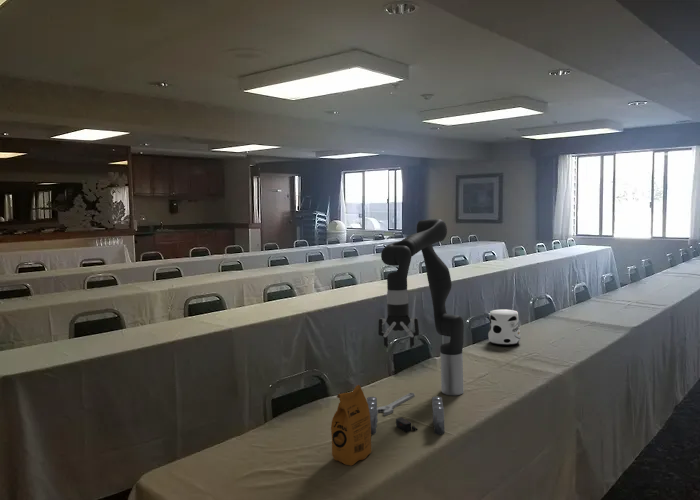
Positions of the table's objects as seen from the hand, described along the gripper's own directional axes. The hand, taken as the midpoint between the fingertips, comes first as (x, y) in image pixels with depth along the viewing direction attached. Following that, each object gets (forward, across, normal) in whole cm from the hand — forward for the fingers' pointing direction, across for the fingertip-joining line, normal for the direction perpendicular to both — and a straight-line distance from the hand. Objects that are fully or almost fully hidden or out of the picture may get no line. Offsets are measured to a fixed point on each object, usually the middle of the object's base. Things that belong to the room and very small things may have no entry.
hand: (399, 347), depth 185 cm
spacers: (+30, -1, -1) cm, 30 cm away
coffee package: (+30, +15, +22) cm, 40 cm away
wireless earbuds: (+30, -2, 0) cm, 30 cm away
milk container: (+28, -51, -116) cm, 130 cm away
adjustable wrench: (+30, +3, -22) cm, 38 cm away
